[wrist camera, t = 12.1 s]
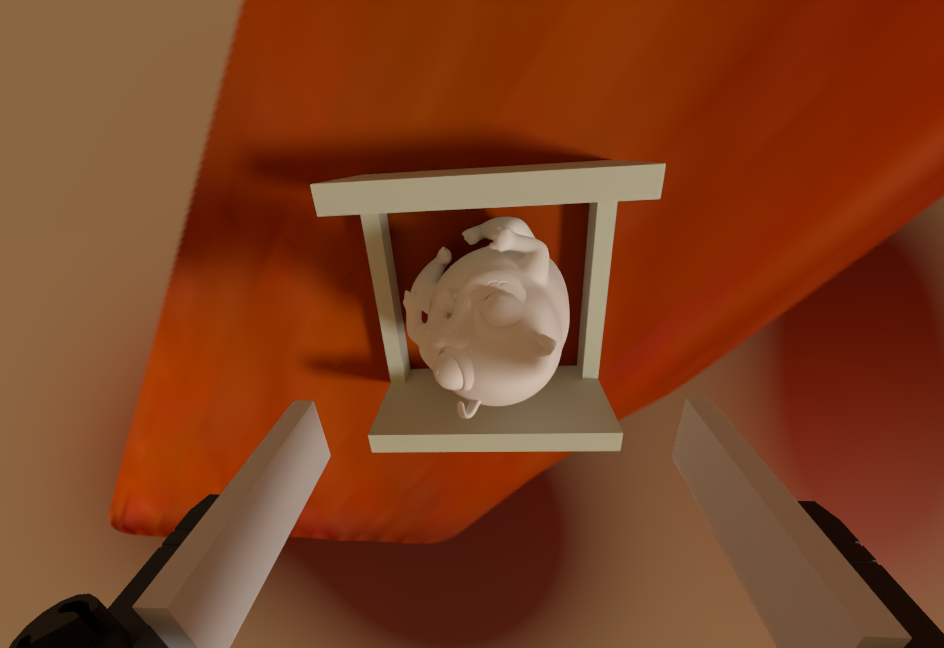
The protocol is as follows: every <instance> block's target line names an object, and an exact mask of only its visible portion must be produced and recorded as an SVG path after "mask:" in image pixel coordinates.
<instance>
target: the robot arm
mask: <svg viewBox="0 0 944 648" xmlns="http://www.w3.org/2000/svg"><path fill="white" fill-rule="evenodd" d="M330 457H331V455H330V452H329V448H328V445H327V442H326V439H325V436H324V433H323V429H322V426H321V423H320V420H319V417H318V413H317V410H316V407H315V404H314V401H293V403H292V404H291V405H290V406H289V408H288V409H287V410H286V411H285V413H284V414H283V415H282V417H281V418H280V419H279V420H278V422H277V423H276V424H275V425H274V427H273V428H272V429H271V431H270V432H269V433H268V434H267V436H266V437H265V438H264V439H263V441H262V442H261V443H260V445H259V446H258V447H257V448H256V450H255V451H254V452H253V453H252V455H251V456H250V457H249V459H248V460H247V461H246V462H245V464H244V465H243V466H242V468H241V469H240V470H239V471H238V473H237V474H236V475H235V476H234V478H233V479H232V480H231V482H230V483H229V484H228V485H227V487H226V488H225V489H224V490H223V492H222V493H221V494H220V495H214V494H210V495H208V496H207V497H206V498H205V499H203V500H202V501H201V502H200V503H198V504H197V505H196V506H195V507H193V508H192V509H191V510H190V511H189V512H188V513H187V514H186V516H185V517H184V518H183V519H182V520H181V522H180V523H179V524H178V525H177V526H176V528H175V531H174V532H171V534H170V535H169V536H168V537H167V538H166V540H165V541H164V542H163V543H162V547H161V548H158V549H157V550H156V552H155V553H154V554H153V555H152V556H151V558H150V559H149V560H148V561H147V562H146V564H145V565H144V566H143V567H142V568H141V570H140V571H139V572H138V573H137V575H136V576H135V577H134V578H133V579H132V581H131V582H130V583H129V584H128V585H127V586H126V588H125V589H124V590H123V591H122V593H121V594H120V595H119V596H118V597H117V598H116V600H115V601H114V602H113V603H112V604H111V606H110V607H109V608H108V609H107V608H106V607H105V606H104V605H103V604H102V603H101V602H100V601H99V600H98V599H97V598H96V597H94V596H93V595H91V594H83V595H82V594H81V595H75V596H73V597H70V598H68V599H65V600H63V601H61V602H59V603H57V604H56V605H54V606H53V607H51V608H49V609H48V610H46V611H44V612H43V613H42V614H40V615H39V616H38V617H37V618H36V619H34V620H33V621H32V622H31V623H30V624H29V625H27V626H26V627H25V628H24V629H23V631H22V632H21V633H20V634H19V635H18V636H17V638H16V639H15V640H14V641H13V642H12V644H11V645H10V647H9V648H230V646H231V644H232V642H233V640H234V638H235V636H236V635H237V633H238V631H239V629H240V627H241V625H242V623H243V621H244V619H245V617H246V616H247V614H248V612H249V610H250V608H251V606H252V604H253V602H254V600H255V598H256V597H257V595H258V593H259V591H260V589H261V587H262V585H263V583H264V582H265V580H266V578H267V576H268V574H269V572H270V570H271V568H272V566H273V565H274V563H275V561H276V559H277V557H278V555H279V553H280V551H281V549H282V547H283V545H284V544H285V542H286V540H287V538H288V536H289V534H290V532H291V530H292V529H293V527H294V525H295V523H296V521H297V519H298V517H299V515H300V513H301V512H302V510H303V508H304V506H305V504H306V502H307V500H308V498H309V496H310V494H311V493H312V491H313V489H314V487H315V485H316V483H317V481H318V479H319V477H320V476H321V474H322V472H323V470H324V468H325V466H326V464H327V462H328V460H329V458H330ZM671 458H672V460H673V462H674V463H675V465H676V467H677V469H678V470H679V472H680V474H681V476H682V478H683V480H684V481H685V483H686V485H687V487H688V488H689V490H690V492H691V494H692V496H693V498H694V499H695V501H696V503H697V505H698V506H699V508H700V510H701V512H702V514H703V515H704V517H705V519H706V521H707V522H708V524H709V526H710V528H711V530H712V532H713V533H714V535H715V537H716V539H717V541H718V542H719V544H720V546H721V548H722V549H723V551H724V553H725V555H726V557H727V558H728V560H729V562H730V564H731V566H732V568H733V569H734V571H735V573H736V575H737V576H738V578H739V580H740V582H741V583H742V585H743V587H744V589H745V591H746V592H747V594H748V596H749V598H750V600H751V602H752V603H753V605H754V607H755V609H756V611H757V612H758V614H759V616H760V618H761V619H762V621H763V623H764V625H765V627H766V628H767V630H768V632H769V634H770V635H771V637H772V639H773V641H774V643H775V644H776V646H777V648H944V634H943V632H941V630H940V629H939V628H938V627H937V626H936V625H935V624H934V623H933V621H932V620H931V619H930V618H929V617H928V616H927V615H926V614H925V613H924V612H923V611H922V609H921V608H920V607H919V606H918V605H917V604H916V603H915V602H914V601H913V600H912V599H911V597H909V595H908V594H907V593H906V592H905V591H904V590H903V589H902V588H901V587H900V585H899V584H898V583H897V582H896V581H895V580H894V579H893V578H892V577H891V575H889V573H888V572H887V571H886V570H885V569H884V568H883V567H882V566H881V565H878V564H877V562H876V559H875V558H874V557H873V556H872V555H871V554H870V553H869V551H868V550H867V549H866V548H865V547H864V546H861V545H860V542H859V541H858V539H857V538H856V537H855V536H854V535H853V534H852V533H851V532H850V531H849V529H848V528H847V527H846V526H845V525H844V524H843V523H842V522H841V521H840V520H839V519H838V518H837V517H835V516H834V515H832V514H831V513H830V512H828V511H827V510H826V509H824V508H823V507H821V506H820V505H819V504H817V503H816V502H815V501H796V499H795V498H794V497H793V496H792V495H791V493H790V492H789V491H788V490H787V489H786V488H785V486H784V485H783V484H782V483H781V481H780V480H779V479H778V478H777V477H776V476H775V475H774V473H773V472H772V471H771V470H770V468H769V467H768V466H767V465H766V464H765V463H764V461H763V460H762V459H761V458H760V457H759V455H758V454H757V453H756V452H755V451H754V449H753V448H752V447H751V446H750V445H749V443H748V442H747V441H746V440H745V439H744V437H743V436H742V435H741V434H740V433H739V432H738V430H737V429H736V428H735V427H734V426H733V424H732V423H731V422H730V421H729V420H728V418H727V417H726V416H725V415H724V414H723V413H722V411H721V410H720V409H719V408H718V407H717V406H716V404H715V403H714V402H713V401H712V400H711V398H686V401H685V405H684V409H683V413H682V417H681V421H680V425H679V429H678V432H677V436H676V440H675V444H674V448H673V452H672V456H671Z"/></svg>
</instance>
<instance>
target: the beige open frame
mask: <svg viewBox="0 0 944 648" xmlns="http://www.w3.org/2000/svg"><path fill="white" fill-rule="evenodd" d="M665 167H666V164H664V163H650V162H636V161H622V160H600V161H584V162H567V163H550V164H533V165H516V166H499V167H482V168H465V169H448V170H431V171H414V172H397V173H381V174H364V175H358V176H352V177H347V178H341V179H336V180H330V181H325V182H319V183H314V184H310V187H311V191H312V196H313V200H314V204H315V209H316V213H317V217H321V216H340V215H360V216H361V222H362V227H363V233H364V238H365V244H366V249H367V255H368V260H369V266H370V271H371V277H372V282H373V288H374V293H375V299H376V304H377V310H378V315H379V321H380V326H381V332H382V337H383V343H384V348H385V354H386V359H387V364H388V370H389V375H390V381H391V384H390V386H389V388H388V390H387V393H386V395H385V397H384V400H383V402H382V404H381V407H380V409H379V411H378V414H377V416H376V418H375V420H374V423H373V425H372V427H371V430H370V432H369V434H368V437H369V441H370V446H371V450H372V452H515V451H620V450H621V444H622V438H623V431H622V429H621V427H620V425H619V423H618V421H617V418H616V416H615V414H614V412H613V410H612V408H611V406H610V404H609V401H608V399H607V397H606V395H605V393H604V391H603V389H602V386H601V384H600V382H599V380H598V373H599V364H600V355H601V346H602V337H603V328H604V319H605V310H606V301H607V292H608V283H609V274H610V265H611V256H612V247H613V238H614V229H615V220H616V211H617V202H618V201H631V200H651V199H660V198H661V192H662V186H663V180H664V173H665ZM573 203H590V205H589V217H588V230H587V243H586V255H585V268H584V280H583V293H582V305H581V318H580V331H579V343H578V356H577V365H573V366H557V368H556V370H555V372H554V374H553V376H552V377H551V379H550V380H549V381H548V383H547V384H546V385H545V386H544V387H543V388H542V389H541V390H540V391H538V392H537V393H536V394H534V395H533V396H531V397H530V398H528V399H526V400H524V401H521V402H519V403H516V404H512V405H507V406H487V405H482V404H480V405H479V407H478V409H477V411H476V412H475V414H474V415H473V416H472V417H471V418H468V419H466V418H461V417H460V416H459V414H458V410H457V404H458V402H459V401H462V402H463V404H464V406H465V411H466V408H467V406H468V404H469V402H470V401H469V400H467V399H465V398H463V397H461V396H459V395H457V394H456V393H455V392H453V391H452V390H449V389H446V388H443V387H442V386H441V385H439V384H438V382H437V381H436V379H435V377H434V373H433V370H432V369H410V363H409V356H408V350H407V343H406V336H405V330H404V323H403V317H402V310H401V303H400V297H399V290H398V284H397V277H396V270H395V264H394V257H393V251H392V244H391V237H390V231H389V224H388V218H387V213H398V212H418V211H437V210H457V209H476V208H495V207H515V206H534V205H554V204H573Z"/></svg>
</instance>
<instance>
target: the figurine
mask: <svg viewBox="0 0 944 648" xmlns="http://www.w3.org/2000/svg"><path fill="white" fill-rule="evenodd" d="M462 235H463V236H464V240H466V241H467V242H468V243H469V245H473V244H476V243H477V242H478V241H479V240H481V239H484V238H487V239H490V240H493V242H492V243H490V244H489V245H488V246H487V247H483V248H480V249H478V250H475V251H473V252H471V253H469V254H467V255H465V256H463V257H462V258H460V259H459V260H458V261H456V262H455V263H454V264H453V265H452V266H451V267H449V269H448V270H447V271H446V272H445V273H444V271H445V268H446V266H447V264H448V263H449V262H450V261H451V260H452V255H451V252H450V251H449V250H448V249H447V248H445V247H442V248H441V249H440V250H439V252H438V254H437V256H436V258H435V259H434V260H432V261H431V262H430V263H429V264H428V265H427V266H426V267H425V268H424V269H423V270H422V271H421V272H420V274H419V275H418V277H417V278H416V280H415V282H414V284H413V286H412V289H411V293H410V292H409V291H407V290H405V294H404V300H403V304H404V306H405V308H406V326H407V332H408V335H409V337H410V339H411V340H412V341H413V342H414V343H416V344H417V345H419V352H420V355H421V357H422V359H423V360H424V362H425V363H426V364H427V365H428V366H429V367H430V368H431V369H432V370H433V373H434V377H435V379H436V381H437V382H438V384H439V385H441V386H442V387H443V388H446V389H449V390H452V391H453V392H455V393H456V394H457V395H459V396H461V397H463V398H465V399H467V400H469V401H470V402H469V404H468V406H467V408H466V411H465V406H464V404H463V402H462V401H459V402H458V404H457V410H458V414H459V416H460V417H461V418H466V419H468V418H471V417H472V416H473V415H474V414H475V412H476V411H477V409H478V407H479V405H480V404H482V405H487V406H507V405H512V404H516V403H519V402H521V401H524V400H526V399H528V398H530V397H531V396H533V395H534V394H536V393H537V392H538V391H540V390H541V389H542V388H543V387H544V386H545V385H546V384H547V383H548V381H549V380H550V379H551V377H552V376H553V374H554V372H555V370H556V368H557V366H558V364H559V361H560V357H561V353H562V348H563V346H564V344H565V341H566V338H567V334H568V330H569V321H570V311H569V300H568V293H567V288H566V285H565V281H564V279H563V276H562V274H561V272H560V270H559V269H558V267H557V266H556V264H555V263H554V262H553V261H552V260H551V259H550V258H549V252H548V249H547V247H546V245H545V244H544V243H543V242H541V241H539V240H537V239H535V237H534V235H533V234H532V232H531V230H530V229H529V227H528V226H527V225H526V224H525V223H524V222H523V221H522V220H520V219H518V218H514V217H499V218H494V219H491V220H488V221H486V222H485V223H483V224H480V225H478V226H475V227H472V228H469V229H467V230H466V231H464V232H463V233H462ZM443 273H444V274H443ZM422 311H424V312H425V313H426V314H428V320H427V322H426V323H423V322H422V320H421V314H422Z"/></svg>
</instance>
